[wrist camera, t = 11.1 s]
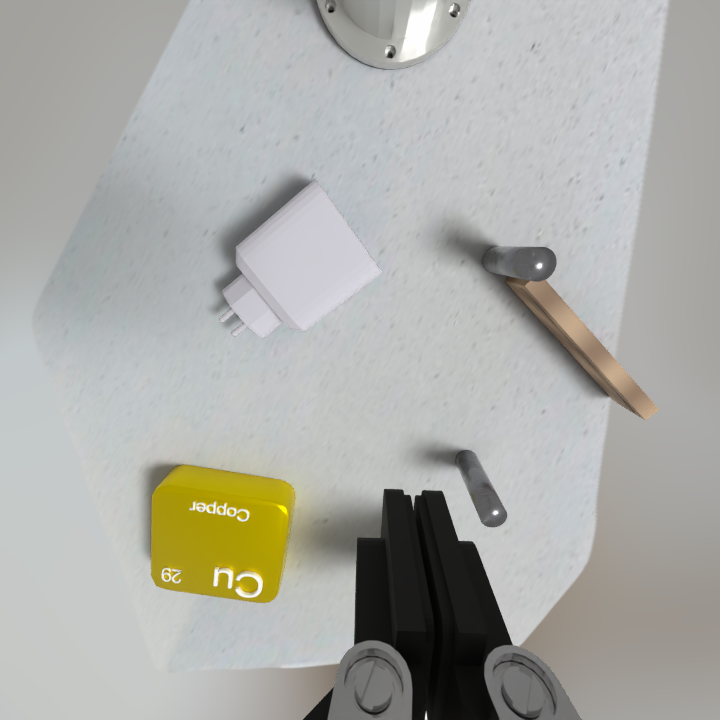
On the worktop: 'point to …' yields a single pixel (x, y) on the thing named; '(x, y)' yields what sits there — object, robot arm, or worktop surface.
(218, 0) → the worktop surface
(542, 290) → the gate
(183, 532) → the element tile
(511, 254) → the hinge post
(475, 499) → the latch post
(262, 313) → the charger
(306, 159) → the worktop surface
